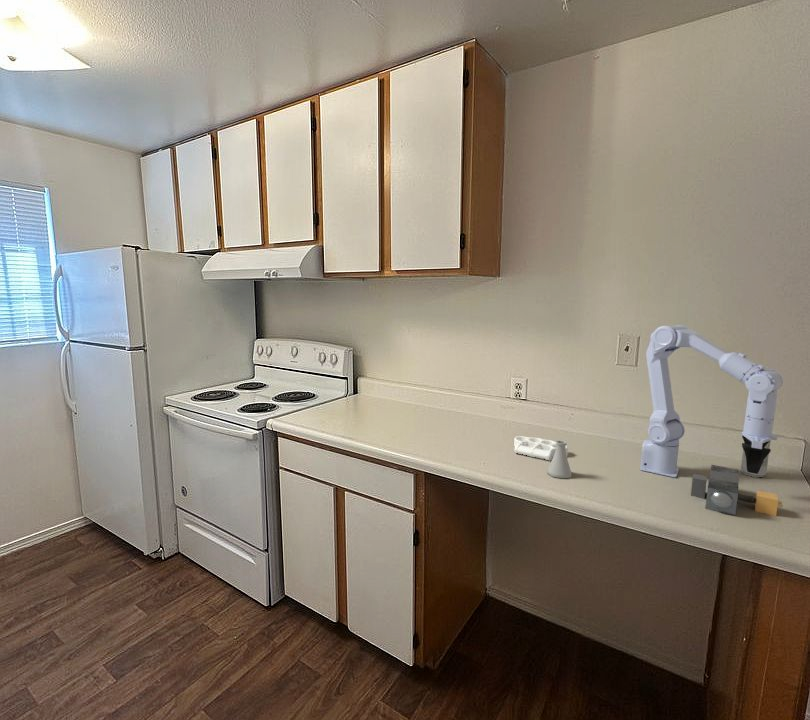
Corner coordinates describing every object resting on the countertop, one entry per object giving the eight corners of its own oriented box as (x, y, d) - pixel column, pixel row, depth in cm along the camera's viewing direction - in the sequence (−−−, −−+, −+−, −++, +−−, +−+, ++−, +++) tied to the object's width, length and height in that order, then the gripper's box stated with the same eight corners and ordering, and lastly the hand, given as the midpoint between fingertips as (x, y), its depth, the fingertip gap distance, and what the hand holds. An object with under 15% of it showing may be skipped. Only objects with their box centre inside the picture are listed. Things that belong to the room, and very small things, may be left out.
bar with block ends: (690, 496, 117) (692, 478, 117) (691, 490, 120) (693, 473, 120) (781, 517, 106) (784, 497, 106) (780, 511, 109) (782, 491, 109)
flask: (543, 469, 135) (545, 437, 133) (567, 469, 134) (569, 438, 133) (550, 479, 128) (552, 445, 126) (575, 479, 127) (578, 446, 126)
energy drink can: (754, 470, 135) (760, 422, 133) (771, 478, 129) (777, 428, 127) (735, 470, 135) (741, 423, 133) (751, 478, 129) (757, 428, 127)
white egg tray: (504, 453, 149) (520, 442, 161) (559, 465, 139) (571, 452, 151) (505, 443, 149) (520, 433, 161) (559, 455, 139) (572, 442, 150)
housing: (705, 509, 110) (708, 484, 109) (709, 486, 123) (711, 464, 122) (735, 517, 106) (738, 491, 105) (735, 492, 120) (738, 469, 119)
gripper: (781, 426, 104) (773, 481, 106) (778, 413, 116) (770, 463, 118) (744, 421, 109) (737, 473, 111) (744, 409, 120) (738, 457, 122)
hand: (752, 467), depth 115 cm, fingers open, 7 cm apart
